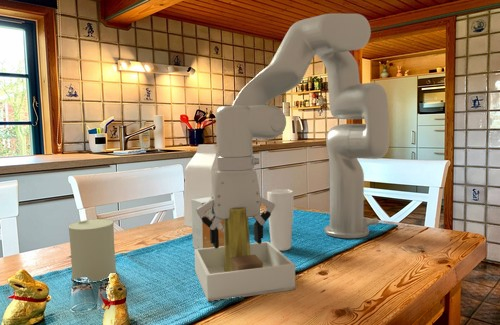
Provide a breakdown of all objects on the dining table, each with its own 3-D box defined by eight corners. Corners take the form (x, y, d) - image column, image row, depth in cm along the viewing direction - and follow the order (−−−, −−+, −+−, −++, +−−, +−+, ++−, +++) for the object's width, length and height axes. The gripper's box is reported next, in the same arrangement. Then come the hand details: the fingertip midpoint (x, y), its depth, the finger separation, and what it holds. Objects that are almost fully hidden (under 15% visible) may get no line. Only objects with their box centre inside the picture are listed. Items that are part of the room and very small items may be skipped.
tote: (268, 262, 93) (268, 241, 93) (295, 289, 78) (295, 264, 77) (195, 271, 88) (194, 249, 88) (207, 301, 73) (207, 275, 72)
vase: (242, 278, 82) (240, 211, 80) (218, 273, 85) (215, 208, 84) (257, 268, 87) (255, 204, 86) (233, 263, 91) (231, 201, 89)
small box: (203, 253, 101) (201, 202, 99) (192, 247, 106) (190, 199, 105) (230, 247, 105) (229, 198, 104) (219, 241, 110) (217, 195, 109)
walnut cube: (255, 278, 82) (255, 254, 82) (263, 287, 77) (262, 262, 77) (232, 281, 81) (231, 257, 80) (238, 290, 76) (237, 265, 76)
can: (97, 265, 94) (95, 215, 92) (125, 272, 89) (122, 219, 88) (62, 278, 86) (58, 224, 85) (90, 287, 81) (87, 229, 80)
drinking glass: (297, 246, 105) (296, 189, 104) (288, 253, 99) (288, 194, 98) (273, 243, 108) (272, 188, 106) (263, 250, 102) (262, 192, 100)
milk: (183, 225, 129) (180, 145, 126) (205, 218, 139) (203, 143, 136) (213, 230, 122) (211, 145, 120) (234, 222, 132) (232, 143, 130)
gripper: (268, 161, 90) (269, 235, 92) (191, 164, 85) (194, 243, 87) (279, 164, 83) (281, 245, 85) (196, 168, 78) (199, 254, 80)
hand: (237, 244), depth 86 cm, fingers open, 9 cm apart
